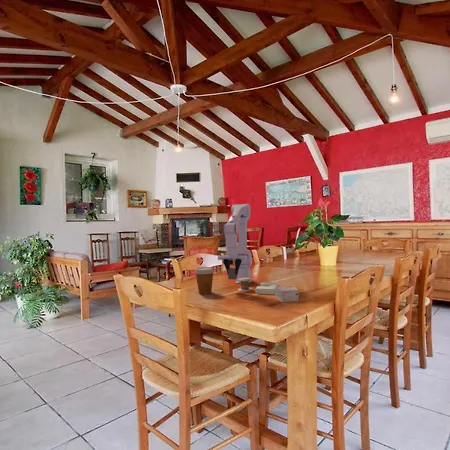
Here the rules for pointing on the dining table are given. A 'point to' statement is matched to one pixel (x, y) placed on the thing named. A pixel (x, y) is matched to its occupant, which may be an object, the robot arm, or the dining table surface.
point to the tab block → (232, 273)
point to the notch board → (267, 288)
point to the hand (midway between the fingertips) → (232, 274)
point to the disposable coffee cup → (204, 279)
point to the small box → (286, 293)
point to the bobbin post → (244, 285)
